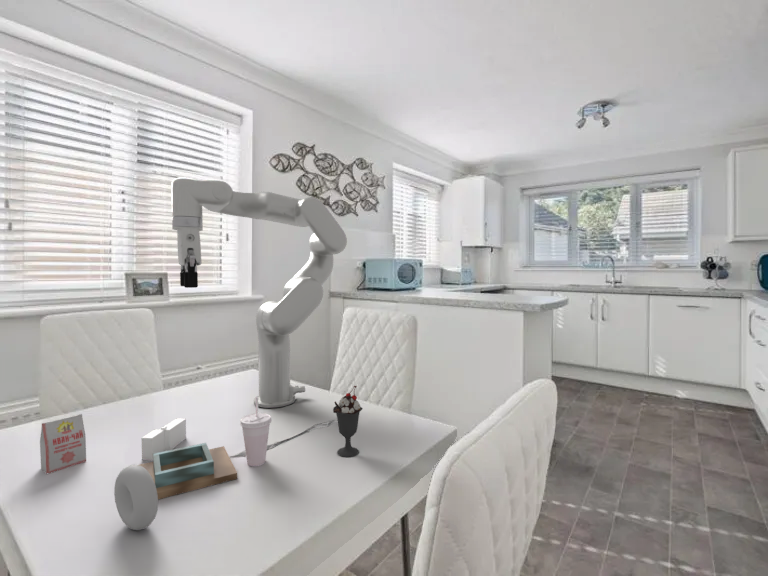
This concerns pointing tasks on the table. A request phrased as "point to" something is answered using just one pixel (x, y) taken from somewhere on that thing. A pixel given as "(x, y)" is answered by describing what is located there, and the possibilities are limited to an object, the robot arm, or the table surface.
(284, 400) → the robot arm
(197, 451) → the holder board
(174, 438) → the white stepped block
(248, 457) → the smoothie
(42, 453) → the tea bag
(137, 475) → the donut
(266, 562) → the table surface
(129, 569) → the table surface
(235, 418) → the table surface
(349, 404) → the sundae
